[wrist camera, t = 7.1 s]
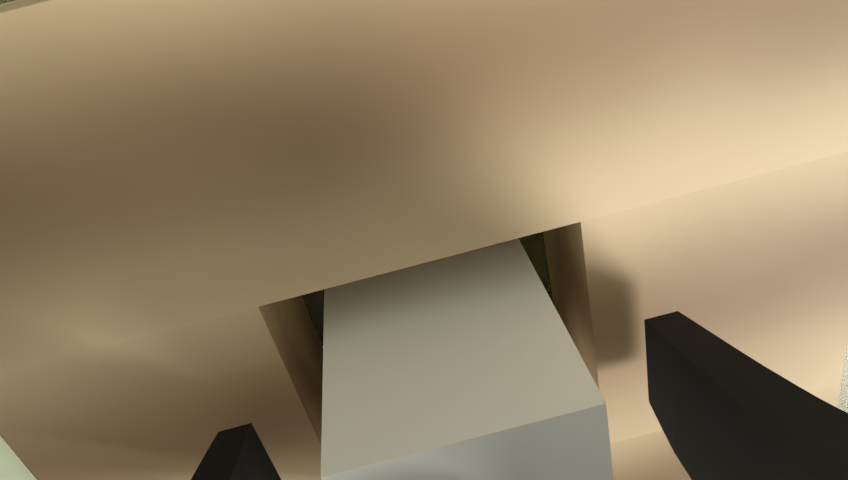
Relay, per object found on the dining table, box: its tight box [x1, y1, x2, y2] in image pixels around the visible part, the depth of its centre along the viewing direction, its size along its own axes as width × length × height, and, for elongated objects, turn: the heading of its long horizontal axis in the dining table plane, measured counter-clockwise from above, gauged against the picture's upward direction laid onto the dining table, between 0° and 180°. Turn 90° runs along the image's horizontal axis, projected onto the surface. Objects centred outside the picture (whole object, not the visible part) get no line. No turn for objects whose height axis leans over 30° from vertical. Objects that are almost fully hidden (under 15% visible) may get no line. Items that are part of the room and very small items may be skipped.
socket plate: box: [0, 0, 848, 480], centre depth 13 cm, size 16×16×3 cm
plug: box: [321, 238, 614, 480], centre depth 11 cm, size 4×4×8 cm
